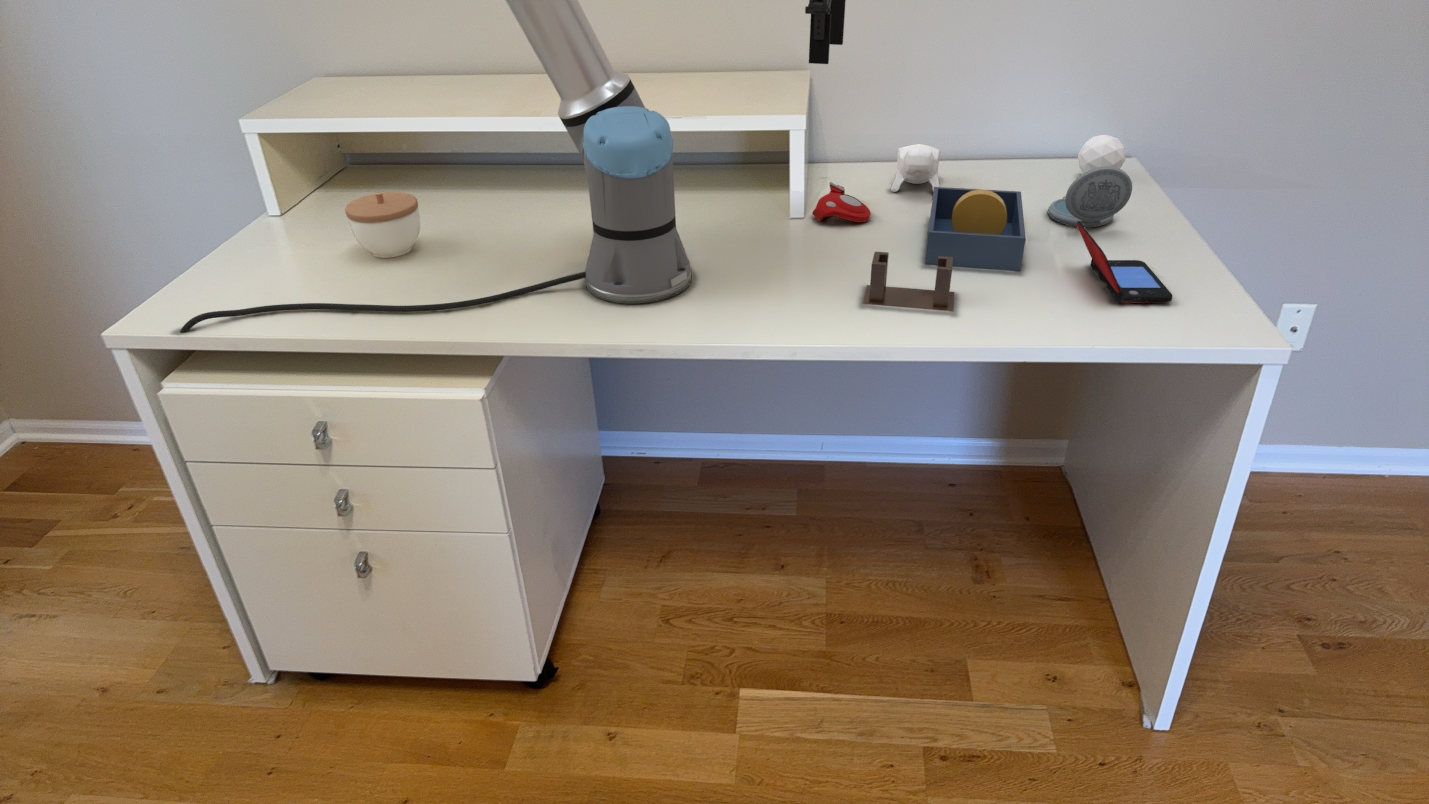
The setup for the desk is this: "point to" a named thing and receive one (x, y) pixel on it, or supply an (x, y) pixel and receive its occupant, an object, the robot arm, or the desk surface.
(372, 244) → the trinket box
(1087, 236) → the handheld console
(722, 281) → the desk surface
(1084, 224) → the pocket watch
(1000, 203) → the disc
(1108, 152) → the geometric ball
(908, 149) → the white animal figurine
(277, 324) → the desk surface
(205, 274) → the desk surface
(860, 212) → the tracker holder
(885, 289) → the holder
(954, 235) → the bin
